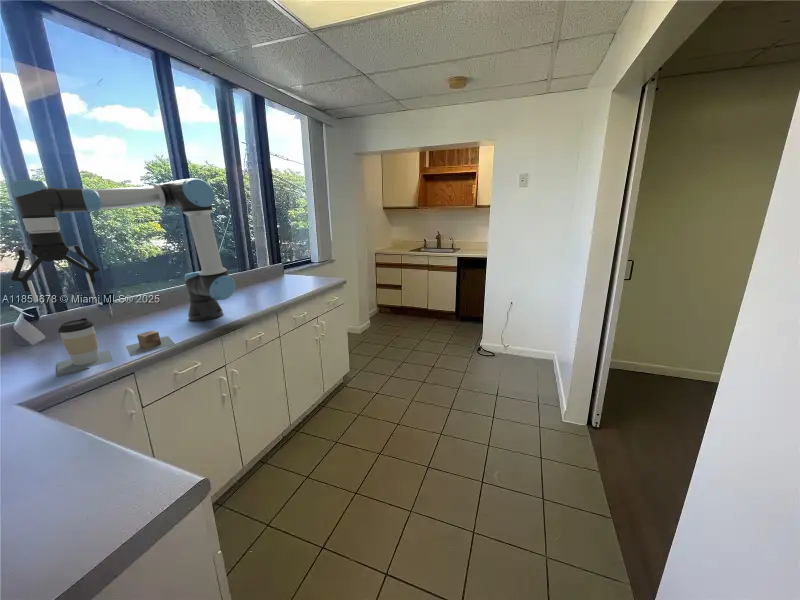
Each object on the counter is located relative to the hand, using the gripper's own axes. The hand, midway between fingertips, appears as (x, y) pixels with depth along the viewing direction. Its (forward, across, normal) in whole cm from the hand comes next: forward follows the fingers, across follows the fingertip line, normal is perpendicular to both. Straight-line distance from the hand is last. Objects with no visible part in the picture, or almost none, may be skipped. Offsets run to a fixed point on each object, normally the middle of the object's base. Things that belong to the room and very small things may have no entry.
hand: (65, 296), depth 109 cm
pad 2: (+25, -18, 0) cm, 31 cm away
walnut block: (+24, -18, 0) cm, 30 cm away
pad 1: (+24, 0, 0) cm, 24 cm away
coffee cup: (+24, 0, 0) cm, 24 cm away
